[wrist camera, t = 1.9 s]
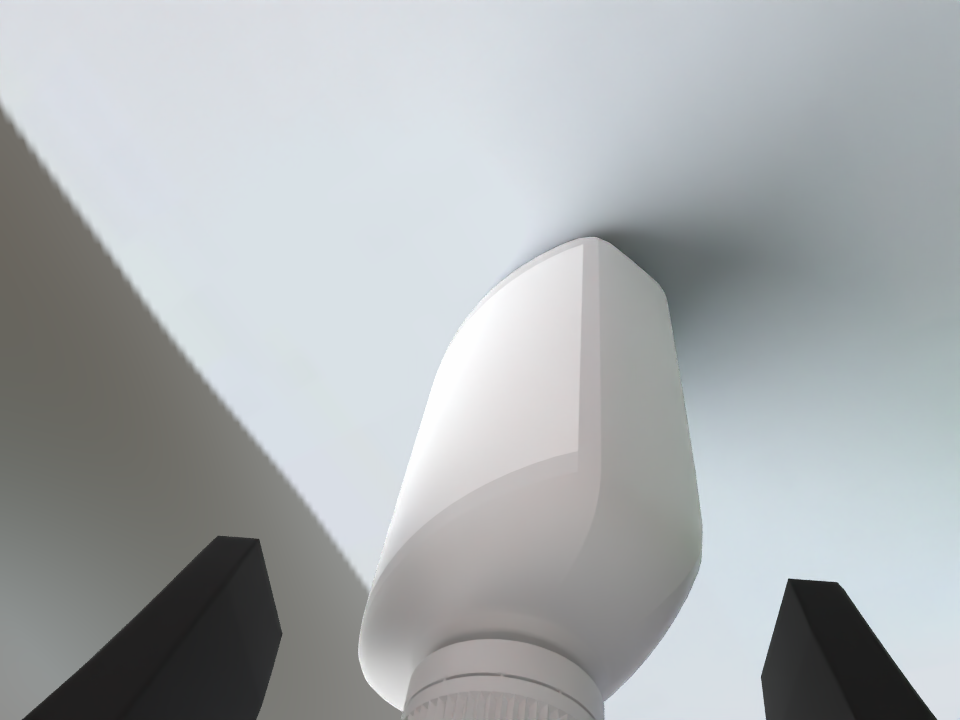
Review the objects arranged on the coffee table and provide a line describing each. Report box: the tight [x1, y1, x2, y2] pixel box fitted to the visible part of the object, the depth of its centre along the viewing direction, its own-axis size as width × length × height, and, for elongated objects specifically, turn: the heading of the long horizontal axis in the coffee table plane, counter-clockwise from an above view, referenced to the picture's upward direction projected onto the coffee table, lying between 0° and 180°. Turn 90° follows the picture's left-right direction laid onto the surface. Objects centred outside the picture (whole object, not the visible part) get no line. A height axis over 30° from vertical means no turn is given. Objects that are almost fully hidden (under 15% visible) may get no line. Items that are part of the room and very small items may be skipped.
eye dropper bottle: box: [358, 237, 702, 720], centre depth 12 cm, size 4×6×12 cm
